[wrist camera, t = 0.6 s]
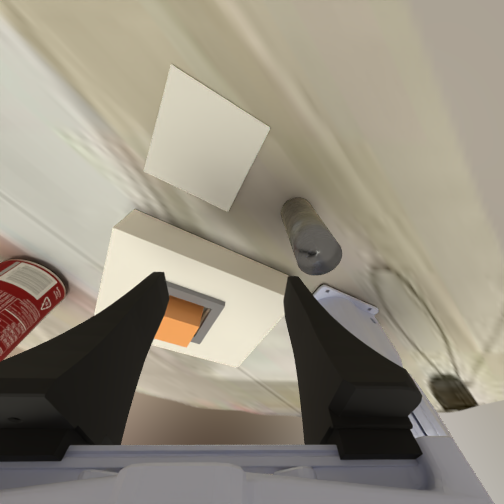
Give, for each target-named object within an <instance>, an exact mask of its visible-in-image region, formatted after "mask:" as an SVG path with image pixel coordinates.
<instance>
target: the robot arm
mask: <svg viewBox="0 0 504 504" xmlns="http://www.w3.org/2000/svg"><path fill="white" fill-rule="evenodd" d="M326 290H327V291H326ZM168 302H169V293H168V288H167V283H166V278H165V273H164V272H153V273H151V274H150V275H149V276H147V277H146V278H145V279H144V280H142V281H141V282H140V283H139V284H138V285H136V286H135V287H134V288H133V289H131V290H130V291H129V292H127V293H126V294H125V295H124V296H122V297H121V298H119V299H118V300H117V301H115V302H114V303H113V304H111V305H110V306H108V307H107V308H105V309H104V310H102V311H101V312H99V313H98V314H96V315H95V316H93V317H91V318H90V319H88V320H86V321H85V322H83V323H81V324H79V325H77V326H76V327H74V328H72V329H70V330H68V331H66V332H65V333H63V334H61V335H59V336H57V337H55V338H53V339H51V340H49V341H47V342H44V343H42V344H40V345H38V346H36V347H34V348H31V349H29V350H27V351H24V352H22V353H20V354H17V355H15V356H13V357H10V358H8V359H6V360H3V361H0V504H494V502H493V501H492V499H491V498H490V496H489V495H488V493H487V491H486V490H485V488H484V487H483V485H482V483H481V482H480V480H479V479H478V477H477V476H476V474H475V473H474V471H473V469H472V468H471V467H470V465H469V463H468V462H467V460H466V459H465V457H464V455H463V454H462V452H461V451H460V449H459V447H458V446H457V444H456V443H455V441H454V439H453V437H452V436H451V434H450V432H449V431H448V430H447V428H446V426H445V424H444V423H443V421H442V420H441V418H440V416H439V415H438V413H437V412H436V410H435V409H434V407H433V406H432V404H431V403H430V401H429V400H428V398H427V397H426V395H425V394H424V392H423V391H422V390H421V388H420V387H419V385H418V384H417V383H416V381H415V380H414V379H413V377H412V376H411V375H410V374H409V373H408V372H407V370H406V369H404V368H403V366H402V361H401V358H400V356H399V354H398V352H397V350H396V349H395V347H394V346H393V344H392V342H391V341H390V339H389V338H388V336H387V335H386V333H385V332H384V330H383V328H382V327H381V325H380V324H379V322H378V321H377V319H376V317H375V316H374V315H375V314H377V313H378V312H379V310H378V308H377V307H375V306H372V305H370V304H368V303H365V302H363V301H361V300H359V299H356V298H354V297H352V296H350V295H347V294H345V293H343V292H341V291H338V290H336V289H334V288H332V287H329V286H327V285H321V286H320V287H319V288H318V289H317V290H316V292H315V293H314V294H313V295H312V293H311V292H310V291H309V290H308V288H307V287H306V286H305V285H304V283H303V282H302V281H301V279H300V278H299V277H297V276H288V278H287V284H286V289H285V294H284V300H283V304H284V313H285V319H286V323H287V328H288V332H289V336H290V340H291V344H292V348H293V353H294V358H295V364H296V371H297V378H298V386H299V394H300V403H301V412H302V421H303V432H304V443H305V445H121V441H122V437H123V433H124V429H125V425H126V421H127V417H128V414H129V410H130V407H131V403H132V400H133V396H134V393H135V390H136V386H137V383H138V380H139V377H140V374H141V371H142V368H143V365H144V362H145V359H146V356H147V353H148V351H149V349H150V346H151V344H152V342H153V340H154V337H155V335H156V333H157V331H158V329H159V326H160V324H161V322H162V320H163V317H164V315H165V312H166V309H167V305H168ZM269 474H273V475H269Z"/></svg>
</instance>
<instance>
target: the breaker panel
mask: <svg viewBox="0 0 504 504" xmlns="http://www.w3.org/2000/svg"><path fill="white" fill-rule="evenodd" d="M153 272H164V273H165V278H166V283H167V288H168V293H169V296H170V295H171V296H174V297H177V298H180V299H183V300H186V301H189V302H192V303H195V304H197V305H200V306H203V307H204V308H203V313H202V317H201V322H200V326H199V328H198V330H197V332H196V333H195V335H194V336H193V338H192V340H191V341H190V343H189V345H188V346H187V348H186V347H183V346H179V345H175V344H172V343H168V342H165V341H161V340H157V339H154V340H153V342H152V344H151V345H154V346H158V347H161V348H165V349H169V350H173V351H176V352H180V353H184V354H187V355H191V356H195V357H199V358H202V359H206V360H210V361H213V362H217V363H221V364H225V365H228V366H232V367H236V368H237V367H238V366H239V365H240V364H241V363H242V362H243V361H244V360H245V359H246V357H247V356H248V355H249V354H250V353H251V352H252V351H253V350H254V348H255V347H256V346H257V345H258V344H259V343H260V342H261V341H262V339H263V338H264V337H265V336H266V335H267V334H268V333H269V332H270V331H271V329H272V328H273V327H274V326H275V325H276V324H277V323H278V322H279V320H280V319H281V318H282V317H283V316H284V315H285V313H284V304H283V300H284V294H285V289H286V284H287V278H288V276H289V275H286V274H284V273H282V272H279V271H277V270H275V269H272V268H270V267H268V266H266V265H263V264H261V263H259V262H256V261H254V260H252V259H249V258H247V257H245V256H242V255H240V254H238V253H235V252H233V251H231V250H228V249H226V248H224V247H221V246H219V245H217V244H215V243H212V242H210V241H208V240H205V239H203V238H201V237H198V236H196V235H194V234H191V233H189V232H187V231H184V230H182V229H180V228H177V227H175V226H173V225H170V224H168V223H166V222H164V221H161V220H159V219H157V218H154V217H152V216H150V215H147V214H145V213H143V212H140V211H138V210H136V209H134V210H133V211H132V212H131V213H130V214H128V215H127V216H126V217H125V218H124V219H122V220H121V221H120V222H119V223H118V224H116V225H115V226H114V227H113V229H112V234H111V239H110V243H109V248H108V253H107V257H106V262H105V267H104V271H103V276H102V280H101V285H100V290H99V294H98V299H97V304H96V308H95V313H94V316H95V315H96V314H98V313H99V312H101V311H102V310H104V309H105V308H107V307H108V306H110V305H111V304H113V303H114V302H115V301H117V300H118V299H119V298H121V297H122V296H124V295H125V294H126V293H127V292H129V291H130V290H131V289H133V288H134V287H135V286H136V285H138V284H139V283H140V282H141V281H142V280H144V279H145V278H146V277H147V276H149V275H150V274H151V273H153Z"/></svg>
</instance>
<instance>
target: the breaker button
mask: <svg viewBox="0 0 504 504" xmlns="http://www.w3.org/2000/svg"><path fill="white" fill-rule="evenodd" d="M203 308H204V307H203V306H200V305H197V304H195V303H192V302H189V301H186V300H183V299H180V298H177V297H174V296H171V295H170V296H169V302H168V305H167V309H166V312H165V315H164V317H163V320H162V322H161V324H160V326H159V329H158V331H157V333H156V335H155V337H154V339H157V340H161V341H165V342H168V343H172V344H175V345H179V346H183V347H186V348H187V346H188V345H189V343H190V341H191V340H192V338H193V336H194V335H195V333H196V332H197V330H198V328H199V326H200V322H201V317H202V313H203Z"/></svg>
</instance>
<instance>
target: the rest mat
mask: <svg viewBox="0 0 504 504" xmlns="http://www.w3.org/2000/svg"><path fill="white" fill-rule="evenodd" d="M269 130H270V127H269V126H267V125H265V124H264V123H262V122H261V121H259V120H258V119H256V118H254V117H253V116H251V115H250V114H248V113H247V112H245V111H243V110H242V109H240V108H239V107H237V106H236V105H234V104H233V103H231V102H229V101H228V100H226V99H225V98H223V97H222V96H220V95H218V94H217V93H215V92H214V91H212V90H211V89H209V88H208V87H206V86H204V85H203V84H201V83H200V82H198V81H197V80H195V79H193V78H192V77H190V76H189V75H187V74H186V73H184V72H182V71H181V70H179V69H178V68H176V67H175V66H173V65H172V64H171V66H170V70H169V74H168V78H167V82H166V86H165V90H164V94H163V97H162V101H161V105H160V109H159V113H158V117H157V121H156V125H155V128H154V132H153V136H152V140H151V144H150V148H149V152H148V156H147V159H146V163H145V167H144V172H146V173H148V174H150V175H152V176H154V177H156V178H158V179H160V180H162V181H164V182H166V183H168V184H171V185H173V186H175V187H177V188H179V189H181V190H183V191H185V192H187V193H189V194H191V195H193V196H195V197H197V198H199V199H202V200H204V201H206V202H208V203H210V204H212V205H214V206H216V207H218V208H220V209H222V210H224V211H226V212H228V211H229V209H230V207H231V205H232V203H233V201H234V199H235V197H236V195H237V193H238V191H239V189H240V187H241V185H242V183H243V181H244V179H245V177H246V175H247V173H248V171H249V169H250V167H251V166H252V164H253V162H254V160H255V158H256V156H257V154H258V152H259V150H260V148H261V146H262V144H263V142H264V140H265V138H266V136H267V134H268V132H269Z"/></svg>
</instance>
